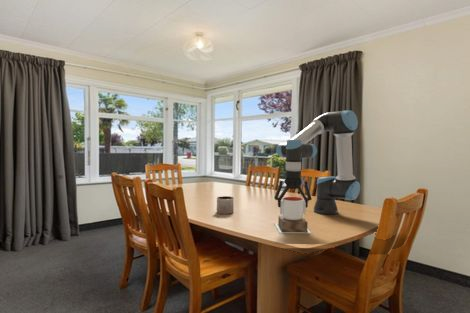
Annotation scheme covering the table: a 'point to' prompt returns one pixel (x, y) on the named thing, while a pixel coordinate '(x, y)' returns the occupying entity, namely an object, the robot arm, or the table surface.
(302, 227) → the base block
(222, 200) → the planter
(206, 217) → the table surface
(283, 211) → the cup
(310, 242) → the table surface
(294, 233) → the build board
